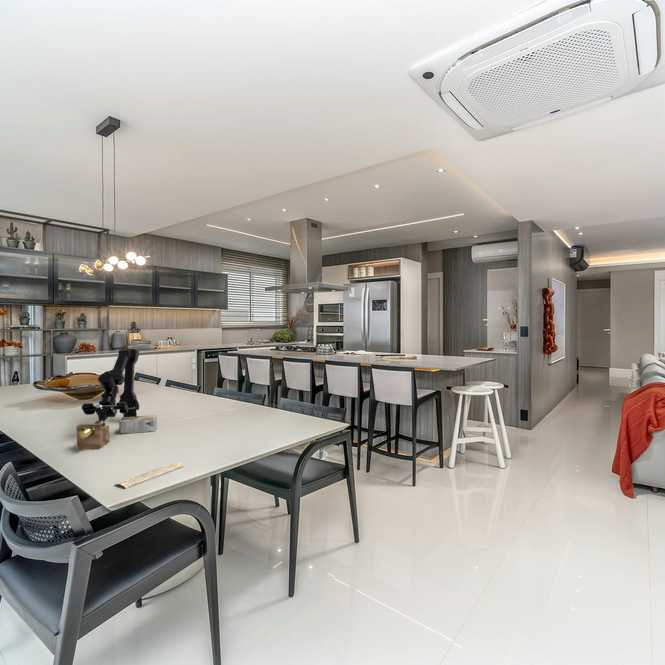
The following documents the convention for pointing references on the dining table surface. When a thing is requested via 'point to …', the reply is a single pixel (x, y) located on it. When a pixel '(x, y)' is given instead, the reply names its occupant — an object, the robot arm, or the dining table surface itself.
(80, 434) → the lock pin
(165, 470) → the beige curved strip
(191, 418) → the dining table surface
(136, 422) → the coffee box
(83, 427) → the mount
